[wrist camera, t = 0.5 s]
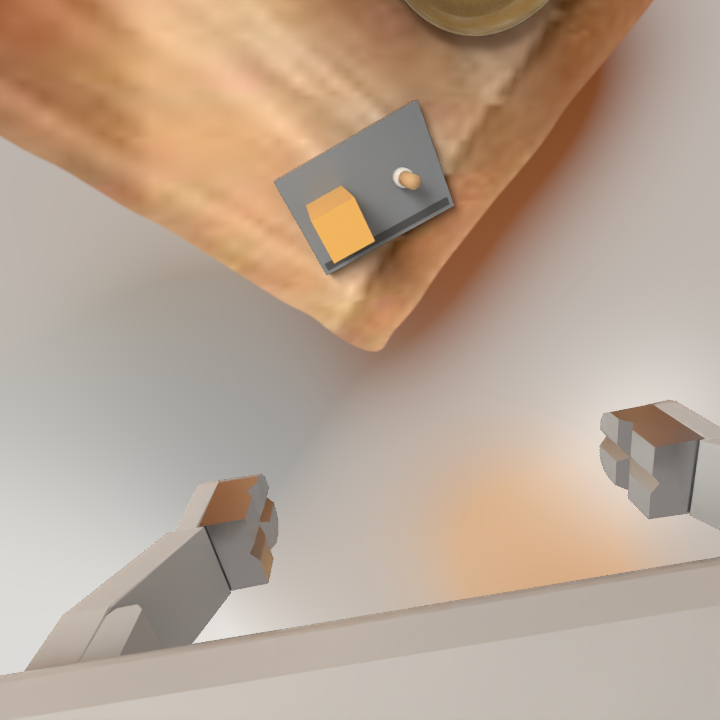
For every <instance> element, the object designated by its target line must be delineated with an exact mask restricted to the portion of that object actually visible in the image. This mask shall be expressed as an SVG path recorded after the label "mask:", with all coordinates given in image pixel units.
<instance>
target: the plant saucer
mask: <svg viewBox="0 0 720 720" xmlns="http://www.w3.org/2000/svg"><path fill="white" fill-rule="evenodd" d="M404 1H405V2H406V3H407V4H408V5H409V6H410V7H411V8H412V9H413V10H414V11H415V12H416V13H417V14H418V15H419V16H421V17H422V18H423V19H425V20H426V21H428V22H429V23H431V24H432V25H434V26H436V27H438V28H440V29H442V30H445V31H447V32H450V33H454V34H458V35H463V36H486V35H491V34H496V33H500V32H503V31H505V30H508V29H510V28H513V27H515V26H517V25H518V24H520V23H522V22H524V21H525V20H527V19H528V18H530V17H531V16H532V15H534V14H535V13H536V12H537V11H539V10H540V9H541V8H542V7H543V6H544V5H545V4H546V3H547V2H548V1H549V0H404Z"/></svg>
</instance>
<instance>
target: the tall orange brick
mask: <svg viewBox="0 0 720 720" xmlns="http://www.w3.org/2000/svg"><path fill="white" fill-rule="evenodd" d="M306 207H307V210H308V213H309V216H310V219H311V222H312V224H313V226H314V228H315V229H316V231H317V233H318V235H319V237H320V238H321V240H322V242H323V244H324V246H325V248H326V249H327V251H328V253H329V255H330V257H331V259H332V260H333V262H334V263H336V262H338V261H340V260H342V259H343V258H345V257H347V256H349V255H351V254H353V253H354V252H356V251H358V250H360V249H362V248H363V247H365V246H367V245H369V244H371V243H373V242H374V241H375V240H374V238H373V236H372V234H371V231H370V229H369V227H368V225H367V223H366V221H365V219H364V217H363V215H362V212H361V210H360V208H359V206H358V204H357V202H356V200H355V198H354V196H352V195H351V194H350V193H349V192H348V191H347V190H346V189H345V188H344V187H343V186H342V185H341V186H340V187H338V188H336V189H334V190H332V191H331V192H329V193H327V194H325V195H324V196H322V197H320V198H318V199H317V200H315V201H313V202H311V203H310V204H308V205H306Z"/></svg>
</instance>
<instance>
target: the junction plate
mask: <svg viewBox="0 0 720 720" xmlns="http://www.w3.org/2000/svg"><path fill="white" fill-rule="evenodd" d="M274 184H275V185H276V187H277V189H278V191H279V192H280V194H281V196H282V198H283V199H284V201H285V203H286V205H287V206H288V208H289V210H290V212H291V213H292V215H293V217H294V219H295V221H296V222H297V224H298V226H299V228H300V229H301V231H302V233H303V235H304V236H305V238H306V240H307V242H308V243H309V245H310V247H311V249H312V251H313V252H314V254H315V256H316V258H317V259H318V261H319V263H320V265H321V266H322V268H323V270H324V272H325V273H326V275H328V274H330V273H332V272H334V271H336V270H337V269H339V268H341V267H343V266H345V265H347V264H348V263H350V262H352V261H354V260H356V259H358V258H359V257H361V256H363V255H365V254H367V253H368V252H370V251H372V250H374V249H376V248H378V247H379V246H381V245H383V244H385V243H387V242H389V241H390V240H392V239H394V238H396V237H398V236H399V235H401V234H403V233H405V232H407V231H409V230H410V229H412V228H414V227H416V226H418V225H420V224H421V223H423V222H425V221H427V220H429V219H431V218H432V217H434V216H436V215H438V214H440V213H441V212H443V211H445V210H447V209H449V208H451V207H452V206H454V204H453V201H452V198H451V195H450V192H449V189H448V187H447V184H446V181H445V178H444V175H443V172H442V169H441V166H440V164H439V161H438V158H437V155H436V152H435V149H434V146H433V143H432V141H431V138H430V135H429V132H428V129H427V126H426V123H425V120H424V118H423V115H422V112H421V109H420V106H419V103H418V100H414V101H411V102H410V103H408V104H406V105H404V106H403V107H401V108H399V109H397V110H396V111H394V112H392V113H391V114H389V115H387V116H385V117H384V118H382V119H380V120H378V121H377V122H375V123H373V124H372V125H370V126H368V127H366V128H365V129H363V130H361V131H359V132H358V133H356V134H354V135H353V136H351V137H349V138H347V139H346V140H344V141H342V142H340V143H339V144H337V145H335V146H334V147H332V148H330V149H328V150H327V151H325V152H323V153H321V154H320V155H318V156H316V157H315V158H313V159H311V160H309V161H308V162H306V163H304V164H302V165H301V166H299V167H297V168H296V169H294V170H292V171H290V172H289V173H287V174H285V175H283V176H282V177H280V178H278V179H277V180H275V181H274ZM341 185H342V186H343V187H344V188H345V189H346V190H347V191H348V192H349V193H350V194H351V195H352V196H354V198H355V200H356V202H357V204H358V206H359V208H360V210H361V212H362V215H363V217H364V219H365V221H366V223H367V225H368V227H369V229H370V231H371V234H372V236H373V238H374V240H375V241H374V242H373V243H371V244H369V245H367V246H365V247H363V248H362V249H360V250H358V251H356V252H354V253H353V254H351V255H349V256H347V257H345V258H343V259H342V260H340V261H338V262H336V263H334V262H333V260H332V259H331V257H330V255H329V253H328V251H327V249H326V248H325V246H324V244H323V242H322V240H321V238H320V237H319V235H318V233H317V231H316V229H315V228H314V226H313V224H312V222H311V219H310V216H309V213H308V210H307V207H306V205H308V204H310V203H311V202H313V201H315V200H317V199H318V198H320V197H322V196H324V195H325V194H327V193H329V192H331V191H332V190H334V189H336V188H338V187H340V186H341Z"/></svg>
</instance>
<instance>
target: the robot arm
mask: <svg viewBox="0 0 720 720" xmlns="http://www.w3.org/2000/svg"><path fill="white" fill-rule="evenodd" d="M600 429H601V430H602V432H603V433H604V434H605V435H606V436H607V437H606V438H605V439H604V441H603V442H602V443H601V445H600V459H601V463H602V466H603V469H604V471H605V472H606V474H607V475H608V477H609V478H610V480H611V481H612V482H613V483H614V484H615V485H617V486H620V487H622V488H624V489H627V490H628V498H629V499H630V501H632V502H633V503H634V505H635V506H636V507H637V508H638V509H639V510H640V511H641V512H642V513H643V514H644V515H645V516H646V517H647V518H648V519H653V518H659V517H667V516H674V515H681V514H688V513H690V516H693V517H694V518H696V519H698V520H700V521H702V522H705V523H707V524H709V525H711V526H713V527H715V528H717V529H719V530H720V427H719V426H717V425H716V424H714V423H712V422H711V421H709V420H707V419H705V418H704V417H702V416H700V415H699V414H697V413H695V412H693V411H692V410H690V409H689V408H687V407H685V406H684V405H682V404H680V403H679V402H677V401H672V400H667V401H663V402H658V403H653V404H648V405H645V406H640V407H635V408H630V409H624V410H619V411H614V412H609V413H604V414H603V416H602V418H601V428H600ZM268 489H269V486H268V484H267V481H266V478H265V476H264V475H262V474H256V475H250V476H244V477H237V478H231V479H224V480H218V481H212V482H207V483H202V484H200V485H198V487H197V488H196V490H195V492H194V494H193V496H192V498H191V500H190V502H189V504H188V505H187V507H186V509H185V511H184V513H183V515H182V517H181V519H180V521H179V523H178V525H177V527H176V528H175V530H174V532H170V533H167V534H165V535H164V536H163V537H162V538H160V539H159V540H158V541H156V542H155V543H154V544H153V545H151V546H150V547H149V548H148V549H146V550H145V551H144V552H142V553H141V554H140V555H139V556H137V557H136V558H135V559H134V560H132V561H131V562H130V563H128V564H127V565H126V566H125V567H124V568H122V569H121V570H120V571H118V572H117V573H116V574H114V575H113V576H112V577H111V578H109V579H108V580H107V581H106V582H104V583H103V584H102V585H101V586H99V587H98V588H97V589H95V590H94V591H93V592H92V593H90V594H89V595H88V596H87V597H85V598H84V599H83V600H81V601H80V602H79V603H78V604H76V605H75V606H74V607H73V608H71V609H70V610H69V611H68V612H66V613H65V614H64V615H63V616H62V617H61V619H60V620H59V621H58V623H57V624H56V626H55V627H54V629H53V630H52V632H51V633H50V635H49V636H48V637H47V639H46V640H45V642H44V643H43V645H42V646H41V648H40V649H39V651H38V652H37V654H36V655H35V656H34V658H33V660H32V661H31V662H30V664H29V666H28V667H27V668H26V670H25V671H24V672H19V673H13V674H7V675H1V676H0V720H720V557H716V558H711V559H704V560H698V561H692V562H686V563H680V564H674V565H669V566H661V567H656V568H649V569H643V570H637V571H631V572H625V573H619V574H613V575H606V576H600V577H595V578H588V579H582V580H576V581H570V582H564V583H558V584H552V585H546V586H540V587H534V588H528V589H522V590H516V591H510V592H504V593H498V594H492V595H486V596H480V597H474V598H468V599H462V600H456V601H450V602H444V603H438V604H432V605H426V606H420V607H414V608H408V609H402V610H396V611H390V612H384V613H378V614H372V615H365V616H359V617H354V618H347V619H341V620H335V621H329V622H323V623H317V624H311V625H305V626H299V627H293V628H286V629H280V630H274V631H268V632H262V633H256V634H250V635H244V636H238V637H232V638H226V639H220V640H214V641H207V642H201V643H195V644H192V643H193V642H194V640H195V639H196V638H197V637H198V635H199V634H200V633H201V631H202V630H203V629H204V627H205V626H206V625H207V624H208V622H209V621H210V620H211V618H212V617H213V616H214V614H215V613H216V612H217V610H218V609H219V608H220V607H221V605H222V604H223V603H224V601H225V600H226V599H227V597H228V596H229V595H230V594H231V591H232V590H236V589H242V588H247V587H252V586H257V585H262V584H267V583H268V582H269V577H270V572H271V568H272V563H273V556H272V553H271V548H272V547H273V546H274V545H275V544H276V542H277V537H278V518H277V512H276V509H275V505H274V502H272V501H271V500H269V499H268V498H267V494H268Z"/></svg>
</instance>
